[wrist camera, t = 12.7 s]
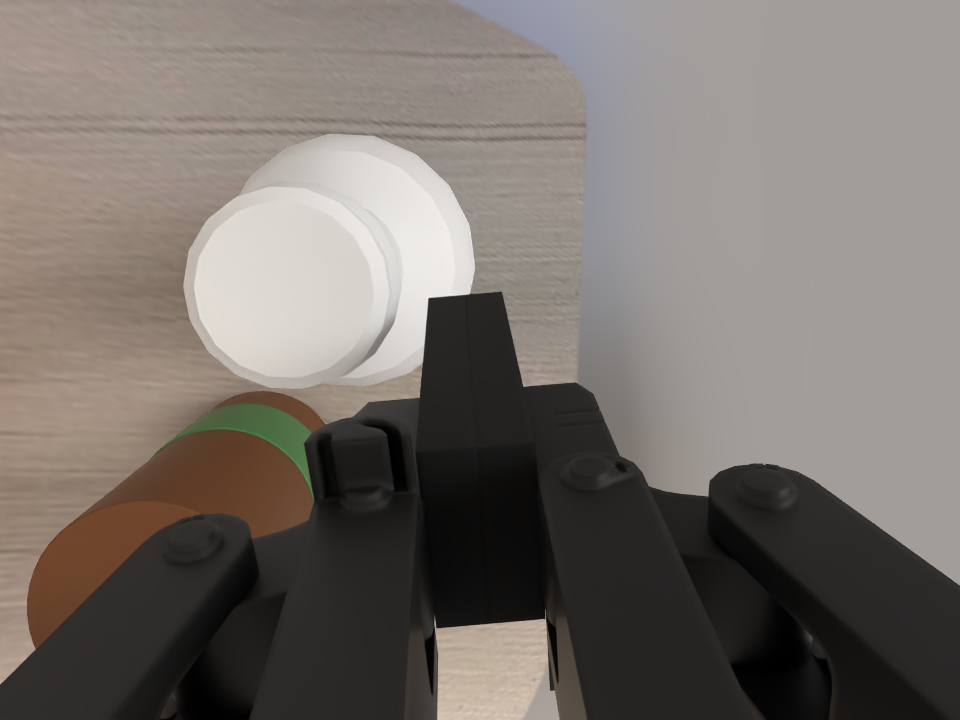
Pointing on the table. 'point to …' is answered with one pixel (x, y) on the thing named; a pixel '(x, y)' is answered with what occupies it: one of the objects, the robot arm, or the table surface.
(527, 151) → the table surface
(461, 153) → the table surface
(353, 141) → the bottle
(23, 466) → the table surface
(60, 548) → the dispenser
